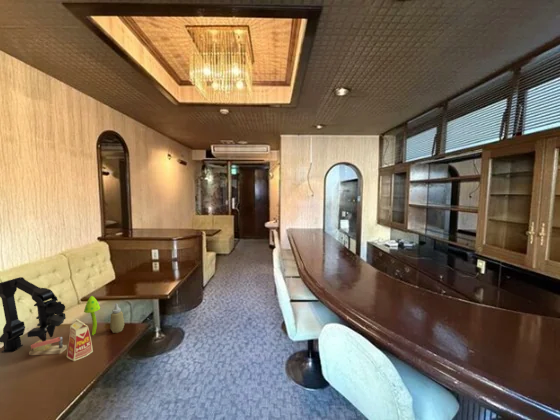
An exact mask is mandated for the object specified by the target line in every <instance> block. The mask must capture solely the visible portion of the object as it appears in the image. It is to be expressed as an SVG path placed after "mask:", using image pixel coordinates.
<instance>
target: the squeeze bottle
mask: <svg viewBox="0 0 560 420" xmlns="http://www.w3.org/2000/svg"><path fill="white" fill-rule="evenodd" d="M109 323H110V324H109V328H110V330H111V333H113V334H118V333H120V332H123V330H124V327H125V319H124V313H123V311H122V308H121V307H119V304H118V303H115V305H114V307H113V309H112V312H111V314H110V322H109Z"/></svg>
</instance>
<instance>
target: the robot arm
mask: <svg viewBox="0 0 560 420" xmlns="http://www.w3.org/2000/svg"><path fill="white" fill-rule="evenodd" d="M18 289H19V290H21V291H22V292H23V293H26V294H28V295H29V296H31V300H33V301H34V302H35V303H34V305H33V307H36V308H37V315H38V316H36V317H35V318H36V320H38V323H37V324H36V326H37V327H33V328H32V329H31V330H29V331H28V332H27V333H26V334H27V338H33V337H35V338H36V337H38V339H39V340H42V341H46V340H47V334H48V335H49V338H52V337H53V336H54V333H55V329H56V327H60V326H61V325H62V324H63V323H64V322H65V320H66V319H67V317H66V313H65V310H66V305H65V304H64V303H62V301H58V300H59V299H58V297H57V296H56V294H55V293H54V292H53V290H51V289H49V288H46V287H40V286H38V285H35V284H34V283H32V282H30V281H28V280H26V279H25V278H24V277H21V276H19V277H15V278H13V279H9V280H4V281H1V282H0V299H1V302H2V307H3V308H2V309H3V313H4V318H5V319H4V320H5V325H4V327H3V329H2V334H1V335H0V343H3V350H1V353H13V352H15V351H18V350H19V349H20V348H21V347H23V346H24V344H22V340H21V336H24V335H25V330H26V326H25V325H26V324H25V321H22V320H20V319H19V316H18V311H17V310H18V309H17V304H16V299H15V294H16V292H17V290H18Z"/></svg>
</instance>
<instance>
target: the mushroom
mask: <svg viewBox="0 0 560 420" xmlns="http://www.w3.org/2000/svg"><path fill="white" fill-rule="evenodd" d="M100 309H101V306H100V304H99V302H98V299H96V298H95V296H94V295H91V296H90V297H89V298H88V299H87V302H86V305H85V306H84V311H83V312H84V314H90V315H91V320H92V321H91V323H92V325H91V326H92V329H91V336H95V335H96V333H97V328H98V321H97V316H96V312H99V310H100ZM94 334H95V335H94Z"/></svg>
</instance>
